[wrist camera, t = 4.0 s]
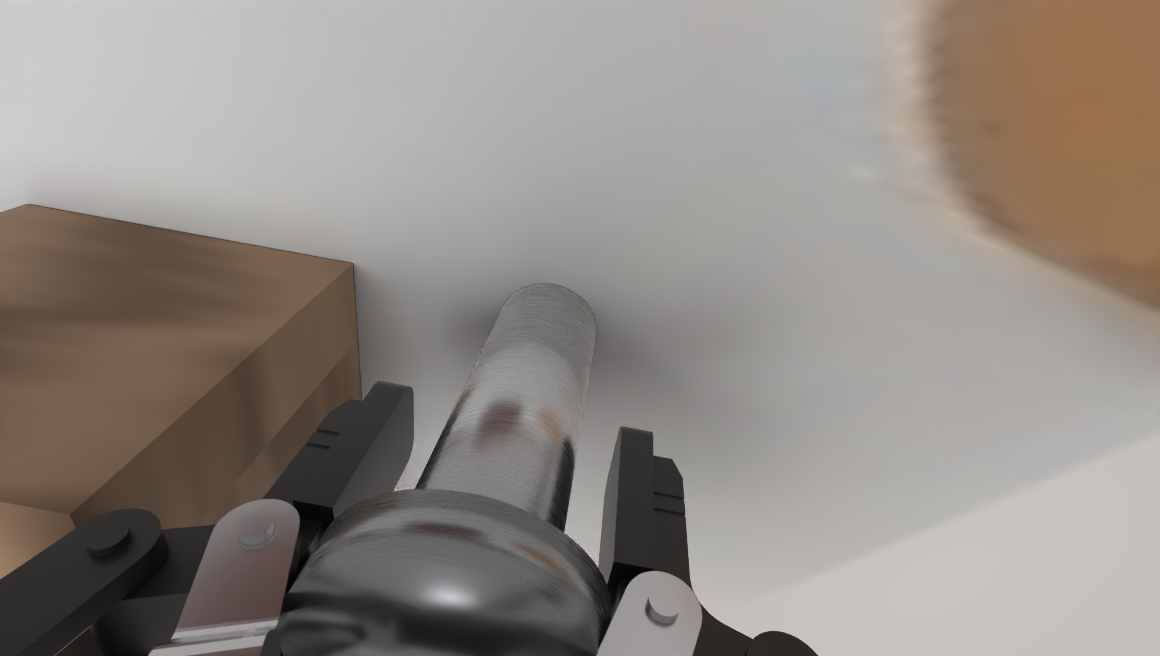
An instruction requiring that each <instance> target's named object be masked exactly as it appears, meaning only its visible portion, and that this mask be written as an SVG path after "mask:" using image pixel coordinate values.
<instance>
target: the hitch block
mask: <svg viewBox="0 0 1160 656" xmlns="http://www.w3.org/2000/svg"><path fill="white" fill-rule="evenodd" d="M349 399H353V400H359V401H362V398H361V382H360V367H359V352H358V337H357V322H356V307H355V292H354V276H353V263H347V262H342V261H336V260H331V259H325V258H320V257H314V256H309V255H304V254H298V253H293V252H287V251H282V250H276V249H271V248H265V247H260V246H254V245H249V244H243V243H238V242H232V241H227V240H221V239H216V238H210V237H205V236H200V235H194V234H189V233H183V232H178V231H172V230H167V229H161V228H156V227H150V226H145V225H139V224H134V223H128V222H123V221H117V220H112V219H106V218H101V217H96V216H90V215H85V214H79V213H74V212H68V211H63V210H57V209H52V208H46V207H41V206H35V205H30V204H25V205H22V206H19V207H16V208H13V209H10V210H7V211H4V212H1V213H0V579H2V578H3V577H5V576H6V575H7V574H9V573H10V572H12V571H13V570H15V569H16V568H18V567H19V566H21V565H22V564H24V563H25V562H27V561H28V560H30V559H31V558H33V557H34V556H36V555H37V554H39V553H40V552H42V551H43V550H45V549H46V548H47V547H49V546H50V545H52V544H53V543H55V542H56V541H58V540H59V539H61V538H62V537H64V536H65V535H67V534H68V533H70V532H71V531H73V530H74V529H76V528H77V527H79V526H80V525H82V524H83V523H85V522H87V521H88V520H91V519H93V518H95V517H97V516H99V515H102V514H104V513H108V512H111V511H115V510H120V509H129V508H135V509H143V510H147V511H149V512H152V513H153V514H155V515H156V516H157V518H158V519H159V521H160V523H161V526H162V529H172V528H183V527H194V526H206V525H213V524H217V523H218V522H219V521H220V520H221V519H222V518H223V517H224V516H225V515H226V514H227V513H229V512H230V511H232V510H233V509H235V508H237V507H239V506H241V505H243V504H246V503H248V502H251V501H256V500H261V499H262V498H263V497H264V496H265V495H266V493H267V492H268V491H269V490H270V488H271V487H272V486H273V484H274V483H275V482H276V481H277V479H278V478H279V477H280V475H281V474H282V473H283V471H284V470H285V469H286V468H287V466H288V465H289V464H290V462H291V461H292V460H293V459H294V457H295V456H296V455H297V453H298V452H299V451H300V449H301V448H302V447H303V446H305V445H306V442H307V440H308V439H309V438H310V437H311V435H312V434H313V433H314V432H316V430H317V427H318V426H319V425H320V424H321V422H322V421H323V420H324V418H325V417H326V416H327V415H328V413H329V412H330V411H332V410H333V409H335V408H336V407H338V406H340V405H341V404H343V403H344V402H346V401H347V400H349ZM88 628H89V627H88ZM88 628H87V629H88ZM87 629H86V630H87ZM83 632H84V631H83ZM83 632H82V633H83ZM82 633H81V634H82ZM81 634H80V635H81ZM77 637H78V636H77ZM77 637H76V638H77ZM76 638H75V639H76ZM72 641H73V640H72ZM72 641H71V642H72ZM71 642H70V643H71ZM70 643H69V644H70ZM66 646H67V645H66ZM66 646H65V647H66ZM65 647H64V648H65ZM64 648H63V649H64ZM60 651H61V650H60ZM60 651H59V652H60ZM59 652H58V653H59ZM55 655H56V654H55ZM55 655H54V656H55Z"/></svg>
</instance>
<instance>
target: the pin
mask: <svg viewBox="0 0 1160 656" xmlns="http://www.w3.org/2000/svg"><path fill="white" fill-rule="evenodd" d="M595 339H596V322H595V318H594V315H593V313H592V311H591V309H590V308H589V306H588V305H587V303H586V302H585V301H584V300H583V299H582V298H581V297H579V296H578V295H577V294H575V293H574V292H572V291H571V290H569V289H567V288H564V287H561V286H558V285H554V284H533V285H529V286H526V287H524V288H521V289H519V290H518V291H516V292H515V293H513V294H512V295H511V296H510V297H509V298H508V299H507V301H506V302H505V303H504V305H503V307H502V309H501V311H500V313H499V316H498V318H497V320H496V322H495V324H494V326H493V328H492V330H491V332H490V334H489V336H488V338H487V340H486V343H485V345H484V347H483V349H482V351H481V353H480V355H479V357H478V359H477V361H476V363H475V365H474V367H473V369H472V372H471V374H470V376H469V378H468V380H467V382H466V384H465V386H464V388H463V390H462V392H461V394H460V396H459V398H458V401H457V403H456V405H455V407H454V409H453V411H452V413H451V415H450V417H449V419H448V421H447V423H446V425H445V428H444V430H443V432H442V434H441V436H440V438H439V440H438V442H437V444H436V446H435V448H434V450H433V452H432V454H431V457H430V459H429V461H428V463H427V465H426V467H425V469H424V471H423V473H422V475H421V477H420V479H419V481H418V484H417V486H416V488H415V489H413V490H402V491H396V492H390V493H385V494H381V495H378V496H374V497H371V498H368V499H366V500H364V501H361V502H359V503H357V504H355V505H353V506H351V507H350V508H348V509H347V510H345V511H344V512H342V513H341V514H340V515H339V516H338V517H337V518H336V519H335V520H333V521H332V522H331V524H330V525H329V527H328V528H327V529H326V531H325V532H324V534H323V535H322V537H321V539H320V540H319V542H318V544H317V545H316V547H315V548H314V550H313V552H312V553H311V555H310V557H309V558H308V560H307V562H306V563H305V565H304V566H303V568H302V570H301V571H300V573H299V575H298V576H297V578H296V579H295V581H294V583H293V584H292V586H291V588H290V589H289V591H288V593H287V595H286V597H285V599H286V604H287V608H288V616H287V621H286V626H285V631H284V635H283V641H282V649H281V651H282V653H283V655H284V656H596V654H598V650H599V648H600V646H601V643H602V641H603V639H604V637H605V635H606V632H607V630H608V628H609V626H610V623H611V621H612V601H611V597H610V592H609V588H608V586H607V584H606V581H605V579H604V577H603V575H602V573H601V572H600V570H599V569H598V567H597V566H596V564H595V563H594V561H593V560H592V559H591V558H590V557H589V555H588V554H587V553H586V552H585V551H584V550H583V549H582V548H581V547H580V546H579V545H578V544H577V543H576V542H574V541H573V540H572V539H571V538H570V537H569V536H567V535H566V534H565V533H564V530H565V524H566V518H567V512H568V506H569V499H570V493H571V487H572V481H573V475H574V469H575V462H576V456H577V450H578V444H579V438H580V432H581V425H582V419H583V413H584V407H585V401H586V395H587V388H588V382H589V376H590V370H591V364H592V358H593V352H594V345H595Z"/></svg>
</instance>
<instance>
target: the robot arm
mask: <svg viewBox="0 0 1160 656" xmlns="http://www.w3.org/2000/svg"><path fill="white" fill-rule="evenodd" d="M413 439H414V412H413V389H412V387H409V386H403V385H398V384H392V383H387V382H381V381H378V382H377V383H376V384H375V385H374V386H373V387H372V389H371V390H370V392H369V393H368V394H367V396H366V397H365V399H364V400H363V401H359V400H353V399H349V400H347V401H346V402H344V403H343V404H341V405H340V406H338V407H336V408H335V409H333V410H332V411H330V412H329V413H328V415H327V416H326V417H325V418H324V420H323V421H322V422H321V424H320V425H319V426H318V427H317V430H316V432H314V433H313V434H312V435H311V437H310V438H309V439H308V440H307V442H306V445H305V446H303V447H302V448H301V449H300V451H299V452H298V453H297V455H296V456H295V457H294V459H293V460H292V461H291V462H290V464H289V465H288V466H287V468H286V469H285V470H284V471H283V473H282V474H281V475H280V477H279V478H278V479H277V481H276V482H275V483H274V484H273V486H272V487H271V488H270V490H269V491H268V492H267V493H266V495H265V496H264V497H263V498H262V499H261V500H256V501H251V502H248V503H246V504H243V505H241V506H239V507H237V508H235V509H233V510H232V511H230V512H229V513H227V514H226V515H225V516H224V517H223V518H222V519H221V520H220V521H219V522H218V523H217V524H213V525H206V526H194V527H183V528H172V529H162V526H161V523H160V521H159V519H158V518H157V516H156V515H155V514H153V513H152V512H149V511H147V510H143V509H135V508H129V509H120V510H115V511H111V512H108V513H104V514H102V515H99V516H97V517H95V518H93V519H91V520H88V521H87V522H85V523H83V524H82V525H80V526H79V527H77V528H76V529H74V530H73V531H71V532H70V533H68V534H67V535H65V536H64V537H62V538H61V539H59V540H58V541H56V542H55V543H53V544H52V545H50V546H49V547H47V548H46V549H45V550H43V551H42V552H40V553H39V554H37V555H36V556H34V557H33V558H31V559H30V560H28V561H27V562H25V563H24V564H22V565H21V566H19V567H18V568H16V569H15V570H13V571H12V572H10V573H9V574H7V575H6V576H5V577H3V578H2V579H0V656H54V655H55V654H56V655H55V656H284V655H283V653H282V651H281V649H282V641H283V635H284V631H285V626H286V621H287V616H288V608H287V604H286V599H285V597H286V595H287V593H288V591H289V589H290V588H291V586H292V584H293V583H294V581H295V579H296V578H297V576H298V575H299V573H300V571H301V570H302V568H303V566H304V565H305V563H306V562H307V560H308V558H309V557H310V555H311V553H312V552H313V550H314V548H315V547H316V545H317V544H318V542H319V540H320V539H321V537H322V535H323V534H324V532H325V531H326V529H327V528H328V527H329V525H330V524H331V522H332V521H333V520H335V519H336V518H337V517H338V516H339V515H340V514H341V513H342V512H344V511H345V510H347V509H348V508H350V507H351V506H353V505H355V504H357V503H359V502H361V501H364V500H366V499H368V498H371V497H374V496H378V495H381V494H385V493H390V492H393V490H394V488H395V486H396V484H397V482H398V480H399V478H400V476H401V475H402V473H403V471H404V469H405V467H406V465H407V463H408V460H409V457H410V454H411V451H412V446H413ZM598 569H599V570H600V572H601V573H602V575H603V577H604V579H605V581H606V584H607V586H608V588H609V592H610V597H611V601H612V621H611V623H610V626H609V628H608V630H607V632H606V635H605V637H604V639H603V641H602V643H601V646H600V648H599V650H598V654H596V656H818V655H817V654H816V653H815V652H814V651H813V650H812V649H811V648H810V647H809V646H808V645H807V644H805V643H804V642H802V641H801V640H800V639H798V638H796V637H794V636H792V635H789V634H787V633H784V632H779V631H768V632H764V633H762V634H759V635H758V636H756V637H755V638H754V639H751V638H750V637H748V636H746V635H744V634H742V633H740V632H738V631H736V630H734V629H732V628H730V627H729V626H727V625H724V624H723V623H721V622H720V621H718V620H717V619H715V618H714V617H713V616H712V615H710V614H709V613H708V612H707V611H706V610H705V608H704V607H703V606H702V605H701V604H700V602H699V600H698V599H697V597H696V595H695V593H694V591H693V589H692V586H691V581H690V572H689V559H688V545H687V531H686V518H685V504H684V490H683V478H682V476H681V474H680V472H679V471H678V469H677V467H676V465H675V463H674V462H673V460H672V459H669V458H663V457H658V456H653V433H652V432H649V431H644V430H639V429H633V428H628V427H622V426H621V427H620V429H619V433H618V437H617V441H616V445H615V449H614V454H613V458H612V462H611V466H610V470H609V474H608V479H607V485H606V491H605V498H604V508H603V520H602V531H601V543H600V554H599V566H598ZM88 627H89V628H88ZM87 628H88V629H87ZM86 629H87V630H86ZM83 631H84V632H83ZM82 632H83V633H82ZM81 633H82V634H81ZM80 634H81V635H80ZM77 636H78V637H77ZM76 637H77V638H76ZM75 638H76V639H75ZM72 640H73V641H72ZM71 641H72V642H71ZM70 642H71V643H70ZM69 643H70V644H69ZM66 645H67V646H66ZM65 646H66V647H65ZM64 647H65V648H64ZM63 648H64V649H63ZM60 650H61V651H60ZM59 651H60V652H59ZM58 652H59V653H58Z"/></svg>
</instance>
